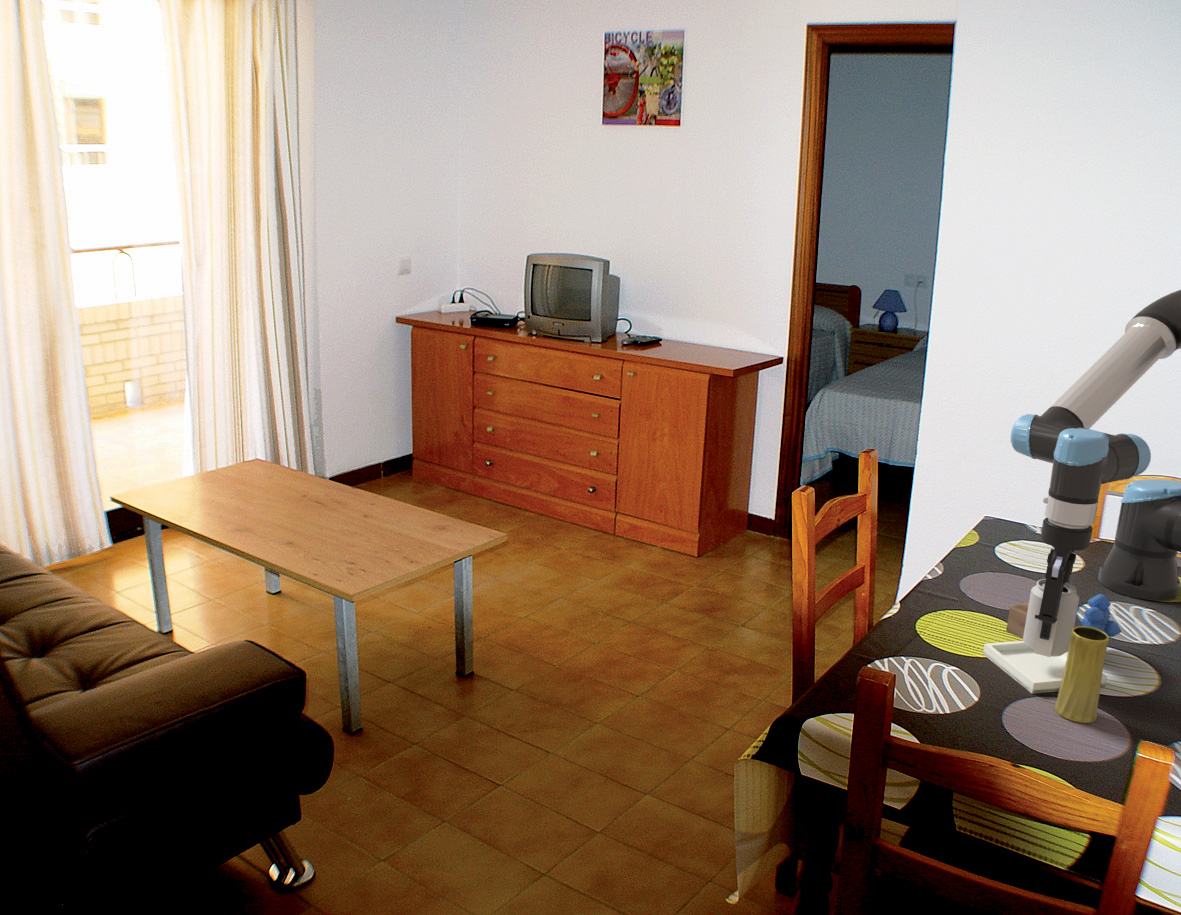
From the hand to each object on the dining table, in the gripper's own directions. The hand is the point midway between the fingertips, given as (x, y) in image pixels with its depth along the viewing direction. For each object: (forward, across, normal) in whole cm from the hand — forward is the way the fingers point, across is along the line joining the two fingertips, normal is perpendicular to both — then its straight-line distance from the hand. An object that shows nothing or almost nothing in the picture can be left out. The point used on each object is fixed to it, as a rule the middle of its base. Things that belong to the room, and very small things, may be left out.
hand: (1046, 644), depth 169 cm
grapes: (+5, -11, +7) cm, 14 cm away
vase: (+5, +12, +7) cm, 15 cm away
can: (+1, 0, 0) cm, 1 cm away
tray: (+5, 0, 0) cm, 5 cm away
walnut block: (+5, -14, -5) cm, 15 cm away
